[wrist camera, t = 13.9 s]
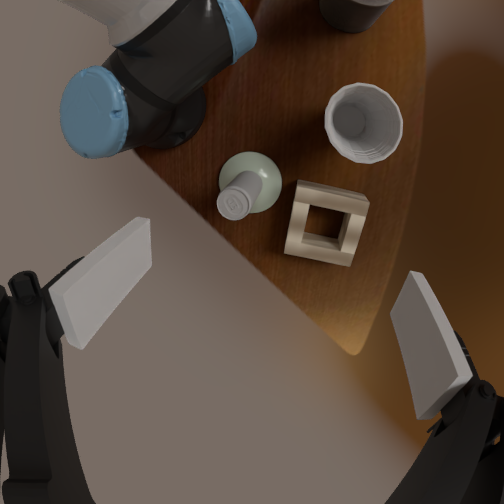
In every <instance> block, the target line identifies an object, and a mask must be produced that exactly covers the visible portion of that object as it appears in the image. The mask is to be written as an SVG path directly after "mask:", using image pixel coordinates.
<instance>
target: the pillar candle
mask: <svg viewBox="0 0 504 504" xmlns="http://www.w3.org/2000/svg"><path fill="white" fill-rule="evenodd" d="M392 1H393V0H320V1H319V4H320V5H319V8H320V12H321V14H322V16H323V18H324V19H325V20H326V21H327V22H328V23H329V24H330V25H331V26H333V27H334V28H336V29H339V30H342V31H344V32H350V33H358V32H362V31H365V30H367V29H368V28H370V27H371V26H372V25H373V23H374V22H375V21H376V20H377V19H378V17H379V16H380V15H381V14H382V13H383V12H384V11H385V9H386V8H387V7H388V6H389V5H390V4H391V3H392Z"/></svg>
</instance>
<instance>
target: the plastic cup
mask: <svg viewBox="0 0 504 504" xmlns="http://www.w3.org/2000/svg"><path fill="white" fill-rule="evenodd" d="M402 128H403V120H402V117H401V114H400V110H399V107H398V105H397V104H396V103H395V102H394V100H393V99H392V98H391V96H390V95H389V94H388V93H387V92H385V91H383V90H382V89H380V88H378V87H377V86H375V85H371V84H364V83H355V84H351V85H348V86H344V87H343V88H341V89H340V90H339V91H338V92H337V93H335V94H334V95H333V96H332V97H331V99H330V102H329V104H328V106H327V108H326V110H325V129H326V132H327V134H328V137H329V140H330V142H331V144H332V145H333V146H334V147H335V148H336V149H337V150H338V151H339V153H340V154H341V155H343V156H345V157H347V158H349V159H350V160H352V161H354V162H359V163H369V164H371V163H374V162H378V161H381V160H384V159H386V158H387V157H388V156H389V155H390V154H391V153H392V152H394V151H395V150H396V148H397V146H398V144H399V142H400V140H401V137H402Z"/></svg>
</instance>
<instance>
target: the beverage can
mask: <svg viewBox="0 0 504 504" xmlns="http://www.w3.org/2000/svg"><path fill="white" fill-rule="evenodd" d="M262 186H263V183H262V179H261V177H260V176H259V175H258V174H256V173H255V172H252V171H248V170H247V171H243V172H241V173H240V174H238V175H237V176H236V177H235V178H234V179H233V180H232V181H231V182H230V183H229V184H228V185H227V186H226V187H225V188H224V189H223V190H222V191H221V192H220V194H219V196H218V199H217V208H218V210H219V212H220V213H221V215H222V216H224V217H225V218H227V219H229V220H239V219H242V218H243V217H245V216H246V215H247V214H248V213H249V212H250V210H251V208H252V206H253V205H254V203H255V201H256V199H257V197H258V195H259V194H260V192H261V190H262Z"/></svg>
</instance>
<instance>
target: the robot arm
mask: <svg viewBox="0 0 504 504" xmlns="http://www.w3.org/2000/svg"><path fill="white" fill-rule="evenodd" d="M58 1H60V2H62V3H65V4H67V5H69V6H71V7H73V8H75V9H77V10H79V11H80V12H83V13H84V14H86V15H88V16H90V17H92V18H94V19H95V20H97V21H99V22H101V23H102V24H104V25H106V26H107V27H108V34H109V44H111V45H112V46H114V47H115V48H117V49H116V50H115V51H114V52H113V53H112V54H111V55H110V56H109V58H108V59H107V60H106V61H105V62H104V63H103V64H102V66H91V67H89V68H87V69H83V70H81V71H79V72H78V73H77V74H75V75H74V76H73V77H72V78H71V80H70V81H69V83H68V84H67V86H66V88H65V90H64V92H63V95H62V99H61V104H60V116H61V117H60V123H61V129H62V132H63V135H64V137H65V139H66V141H67V142H68V144H69V146H70V147H71V148H72V149H73V150H74V151H75V152H76V153H77V154H79V155H80V156H82V157H85V158H91V159H97V158H103V157H110V156H113V155H115V154H117V153H120V152H123V151H126V150H129V149H132V148H136V147H139V146H142V145H146V146H149V147H152V148H157V149H167V148H172V147H175V146H178V145H181V144H183V143H185V142H186V141H188V140H189V139H190V138H192V137H193V136H194V135H195V133H196V132H197V131H198V130H199V128H200V126H201V124H202V122H203V120H204V117H205V112H206V98H205V94H204V91H203V89H202V87H201V86H202V85H204V84H205V83H206V82H208V81H209V80H210V79H211V78H213V77H214V76H215V75H217V74H218V73H219V72H221V71H222V70H223V69H225V68H226V67H227V66H229V65H233V64H234V63H235V62H236V61H237V59H238V58H240V57H241V56H242V55H244V54H245V53H246V52H248V51H249V50H251V49H252V48H253V47H254V45H255V43H256V40H257V33H256V30H255V27H254V25H253V23H252V21H251V19H250V17H249V15H248V14H247V12H246V10H245V9H244V7H243V6H242V4H241V3H240V2H239V0H58ZM151 266H152V259H151V239H150V219H147V218H142V217H136V218H135V219H133V220H132V221H131V222H129V223H128V224H127V225H125V226H124V227H123V228H121V229H120V230H119V231H117V232H116V233H115V234H113V235H112V236H111V237H109V238H108V239H107V240H106V241H104V242H103V243H102V244H101V245H99V246H98V247H97V248H96V249H94V250H93V251H92V252H91V253H89V254H88V255H87V256H86V257H81V258H79V259H77V260H75V261H73V262H72V263H71V264H69V265H68V266H67V267H66V269H63V270H62V271H61V272H60V274H58V275H56V276H55V277H54V278H53V279H52V280H51V281H50V282H48V283H47V284H46V285H45V286H44V287H43V288H42V289H41V288H40V285H39V282H38V278H37V275H36V274H35V273H34V272H33V271H23V272H19V273H17V274H16V275H14V276H13V277H12V278H11V279H10V280H9V282H8V285H9V288H10V291H11V293H12V296H13V297H11V296H8V295H7V293H6V290H5V288H4V287H3V286H1V285H0V472H1V456H2V444H3V436H4V429H5V442H6V452H7V459H8V467H9V479H7V480H6V481H4V482H3V485H2V495H3V500H4V504H96V503H95V502H94V500H93V499H92V497H91V495H90V492H89V489H88V486H87V483H86V480H85V476H84V473H83V470H82V467H81V463H80V459H79V455H78V451H77V447H76V443H75V439H74V434H73V430H72V425H71V419H70V414H69V408H68V401H67V394H66V387H65V378H64V368H63V354H62V344H61V340H60V338H61V336H62V335H63V334H65V336H66V338H67V341H68V343H69V344H71V345H73V346H75V347H77V348H79V349H81V350H83V349H84V347H85V346H86V345H87V343H88V342H89V341H90V339H91V338H92V337H93V336H94V334H95V333H96V332H97V331H98V329H99V328H100V327H101V325H102V324H103V323H104V322H105V320H106V319H107V318H108V317H109V316H110V314H111V313H112V312H113V311H114V309H115V308H116V307H117V306H118V305H119V303H120V302H121V301H122V300H123V299H124V297H125V296H126V295H127V294H128V293H129V292H130V290H131V289H132V288H133V287H134V286H135V284H136V283H137V282H138V281H139V280H140V279H141V277H142V276H143V275H144V274H145V273H146V272H147V271H148V270H149V268H150V267H151ZM390 316H391V319H392V322H393V325H394V328H395V332H396V335H397V338H398V342H399V345H400V349H401V353H402V356H403V360H404V363H405V368H406V371H407V376H408V380H409V383H410V388H411V392H412V397H413V402H414V407H415V412H416V417H417V420H423V419H432V418H433V417H434V416H435V415H436V414H437V413H438V412H439V411H441V414H442V418H441V419H439V420H438V421H437V422H436V423H435V424H434V425H433V426H432V427H431V428H429V429H428V431H427V433H429V432H430V431H431V430H433V431H432V433H431V435H430V437H429V439H428V440H427V442H426V444H425V446H424V447H423V449H422V450H421V452H420V454H419V455H418V457H417V459H416V460H415V462H414V463H413V465H412V467H411V468H410V469H409V471H408V473H407V474H406V476H405V477H404V478H403V480H402V481H401V483H400V484H399V485H398V487H397V488H396V489H395V491H394V492H393V493H392V495H391V496H390V497H389V499H388V500H387V501H386V503H385V504H504V397H500V396H498V395H496V391H495V389H494V388H493V386H492V385H491V384H490V383H489V382H487V381H485V380H480V379H479V376H478V374H477V371H476V369H475V366H474V364H473V362H472V360H471V357H470V356H469V353H468V351H467V349H466V346H465V344H464V342H463V340H462V338H461V337H460V336H459V335H458V333H457V332H456V331H453V329H452V327H451V326H450V323H449V321H448V319H447V317H446V315H445V314H444V311H443V310H442V308H441V306H440V304H439V302H438V300H437V298H436V297H435V295H434V293H433V291H432V290H431V288H430V286H429V284H428V283H427V281H426V279H425V277H424V276H423V274H422V273H418V272H413V271H410V272H409V274H408V277H407V279H406V281H405V283H404V285H403V288H402V290H401V292H400V294H399V296H398V298H397V300H396V302H395V304H394V306H393V308H392V310H391V312H390ZM498 436H500V441H499V442H498V443H497V444H496V445H494V440H495V439H496V438H497V437H498Z"/></svg>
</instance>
